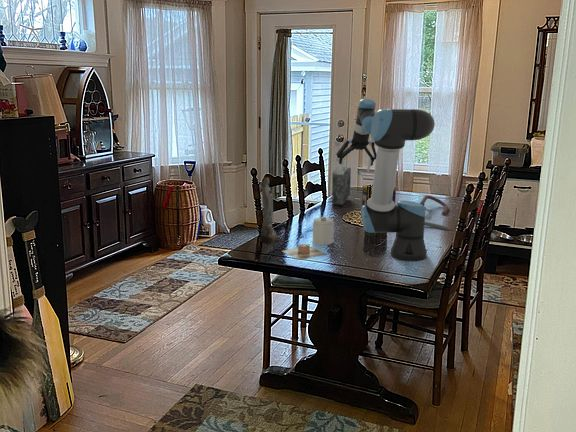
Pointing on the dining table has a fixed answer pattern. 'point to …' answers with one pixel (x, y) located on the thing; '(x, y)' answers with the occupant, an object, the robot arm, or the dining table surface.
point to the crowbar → (437, 226)
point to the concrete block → (341, 185)
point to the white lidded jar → (323, 231)
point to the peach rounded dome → (303, 249)
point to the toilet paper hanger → (436, 201)
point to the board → (298, 256)
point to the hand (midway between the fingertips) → (354, 170)
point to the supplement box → (366, 195)
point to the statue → (267, 214)
